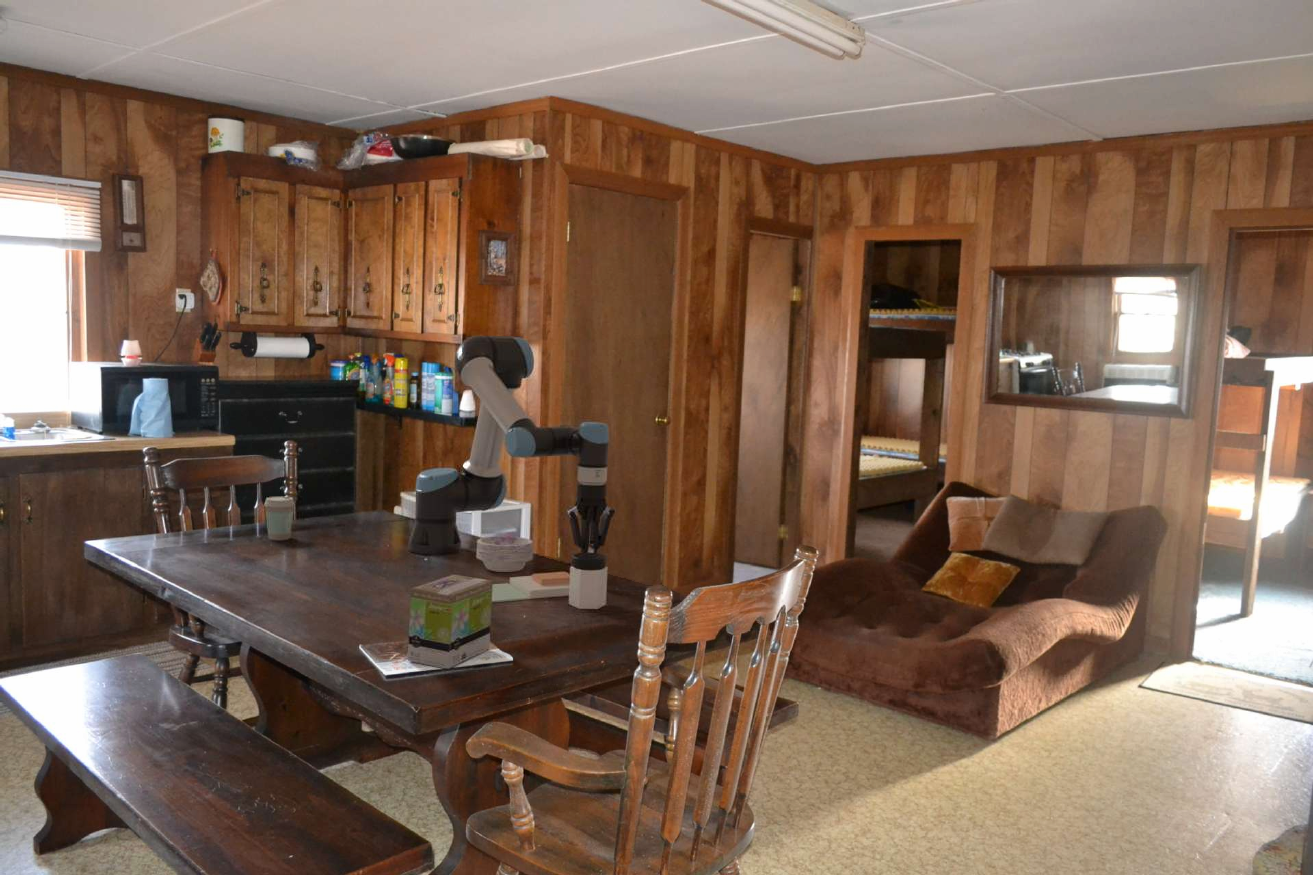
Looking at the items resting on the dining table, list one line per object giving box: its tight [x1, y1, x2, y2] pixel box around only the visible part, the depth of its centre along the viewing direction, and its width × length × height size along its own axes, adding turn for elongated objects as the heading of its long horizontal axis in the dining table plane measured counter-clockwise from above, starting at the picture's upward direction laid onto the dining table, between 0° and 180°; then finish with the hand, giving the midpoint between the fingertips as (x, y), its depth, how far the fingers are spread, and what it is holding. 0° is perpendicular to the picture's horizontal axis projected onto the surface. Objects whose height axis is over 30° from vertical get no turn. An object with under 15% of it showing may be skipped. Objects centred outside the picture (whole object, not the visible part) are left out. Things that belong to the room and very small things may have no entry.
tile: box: [531, 571, 570, 585], centre depth 261 cm, size 6×9×2 cm, turn 119°
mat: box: [492, 582, 531, 604], centre depth 254 cm, size 15×15×1 cm
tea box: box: [407, 574, 493, 670], centre depth 205 cm, size 15×10×15 cm, turn 158°
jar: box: [568, 552, 608, 610], centre depth 248 cm, size 9×8×12 cm
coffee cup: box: [263, 496, 296, 541], centre depth 304 cm, size 8×9×12 cm
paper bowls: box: [476, 535, 534, 573], centre depth 281 cm, size 15×15×8 cm
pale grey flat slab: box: [509, 575, 570, 600], centre depth 261 cm, size 14×16×2 cm
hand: (588, 573), depth 266 cm, fingers closed
